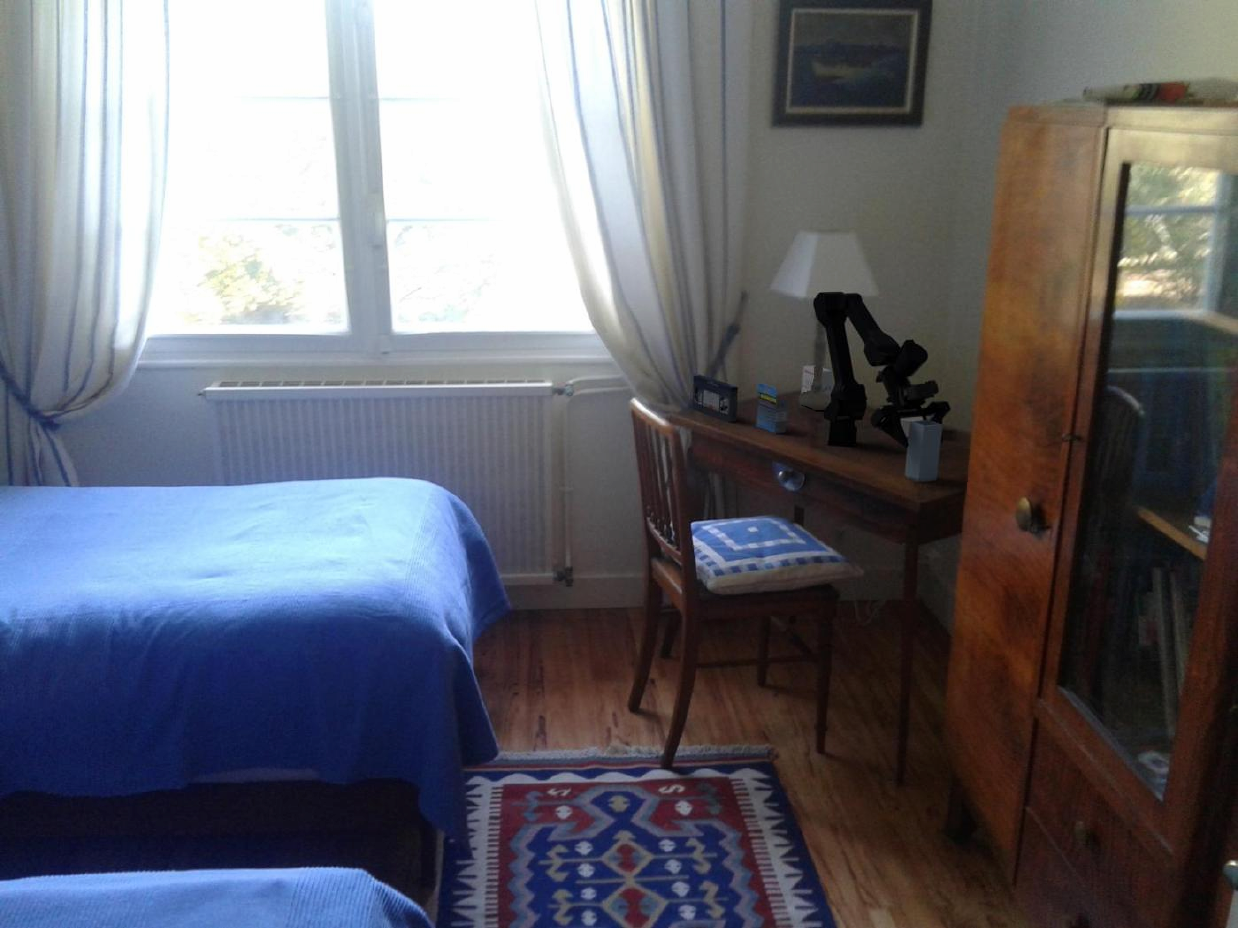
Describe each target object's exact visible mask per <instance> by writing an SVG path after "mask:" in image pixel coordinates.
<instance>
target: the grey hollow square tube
mask: <svg viewBox="0 0 1238 928" xmlns="http://www.w3.org/2000/svg"><path fill="white" fill-rule="evenodd" d="M941 433H942V434H943V424H942V425H941V424H939V423H936V422H933V421H930V420H919V421H910V428H909V437H907V440H908V443H909V447H908V448H906V458H905V459H906V460H905V467H904V468H905V469H904V477H905V476H906V477H905V478H908V479H910V480H912V481H914V482H917V483H924V482H933V481H937V479H938V477H937V476H938V469H939V460H940V452H941V450H940V449H941V445H940V442H941Z"/></svg>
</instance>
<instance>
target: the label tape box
mask: <svg viewBox="0 0 1238 928" xmlns="http://www.w3.org/2000/svg"><path fill="white" fill-rule="evenodd" d="M766 390H767V391H766ZM777 393H778V388H777V387H774V386H771V385H769V384H766V383H763V382H761V381H759V382H758V387H757V401H756V402H757V406H756V427H757V428H760V429H763V430H765V431H768V432H770V433H773V434H775V435H776V434H783V433H786V432H787V416H788V414H787V412H788V408H787V407H788V401H786V400H783V399H781V398H778V397H777Z"/></svg>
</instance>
